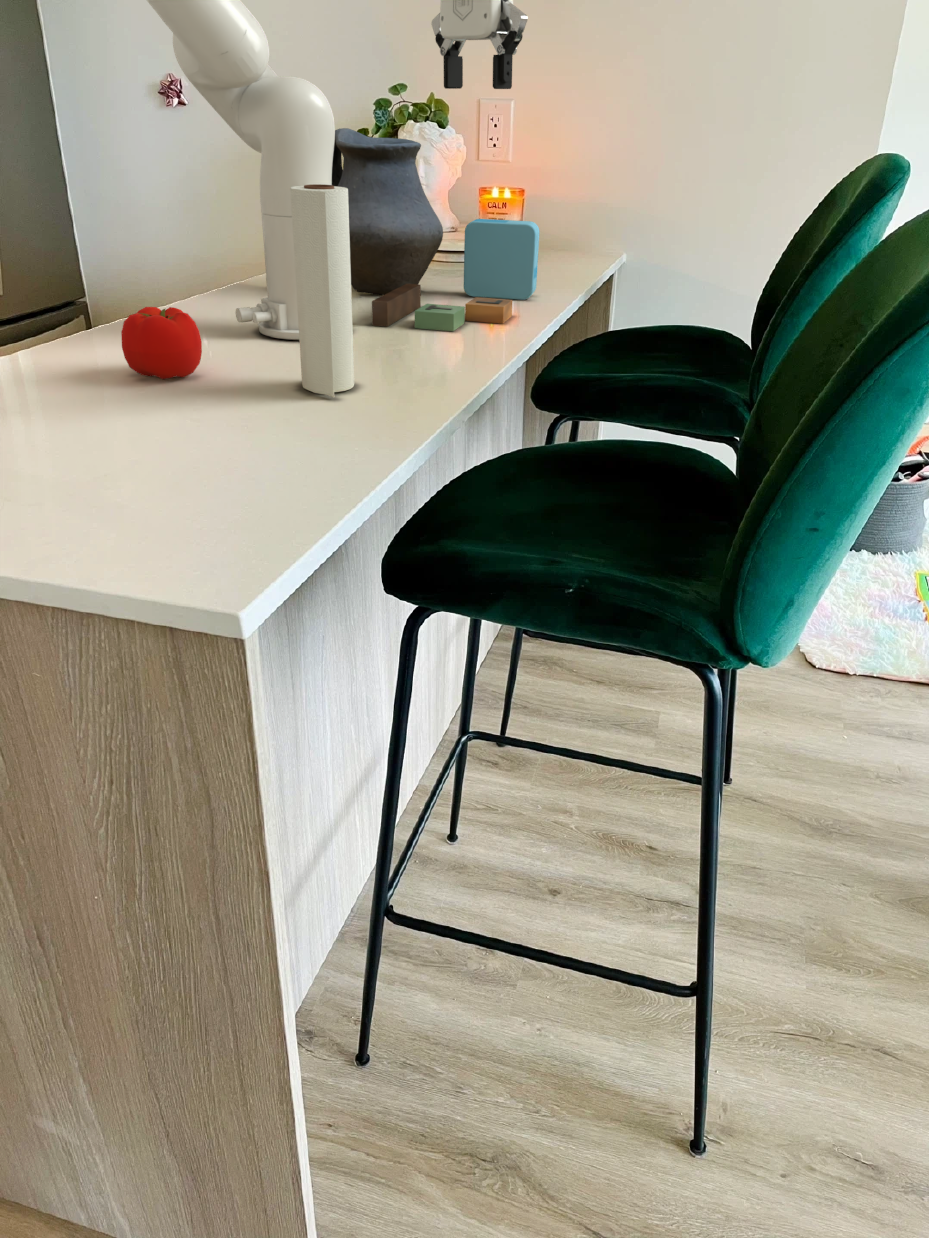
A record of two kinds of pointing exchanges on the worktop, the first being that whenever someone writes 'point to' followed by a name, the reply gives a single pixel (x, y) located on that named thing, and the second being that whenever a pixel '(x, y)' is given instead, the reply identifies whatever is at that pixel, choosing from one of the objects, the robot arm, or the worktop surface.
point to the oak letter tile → (488, 310)
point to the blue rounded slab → (501, 258)
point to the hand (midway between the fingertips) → (477, 88)
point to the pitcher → (385, 211)
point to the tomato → (161, 342)
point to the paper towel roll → (323, 287)
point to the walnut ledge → (396, 304)
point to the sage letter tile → (439, 317)
